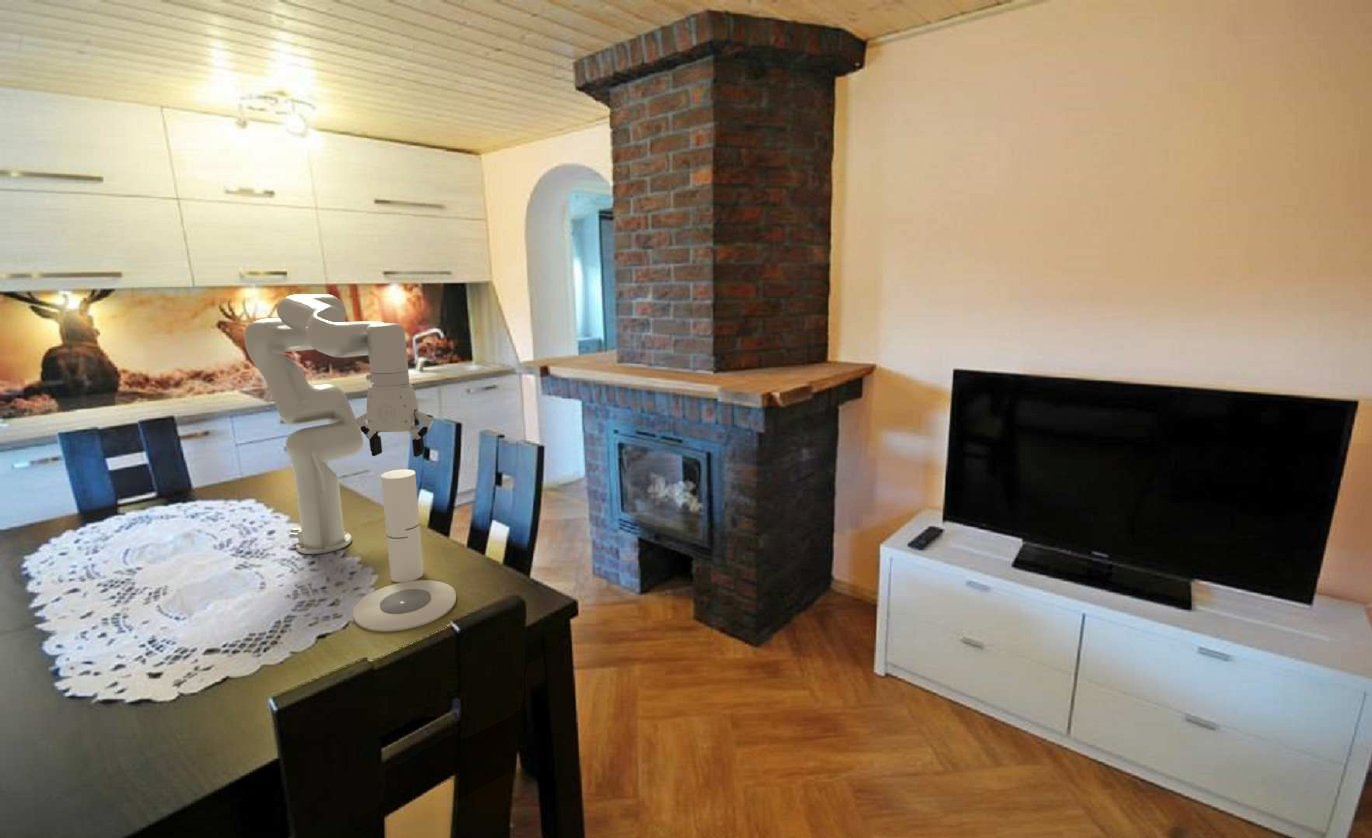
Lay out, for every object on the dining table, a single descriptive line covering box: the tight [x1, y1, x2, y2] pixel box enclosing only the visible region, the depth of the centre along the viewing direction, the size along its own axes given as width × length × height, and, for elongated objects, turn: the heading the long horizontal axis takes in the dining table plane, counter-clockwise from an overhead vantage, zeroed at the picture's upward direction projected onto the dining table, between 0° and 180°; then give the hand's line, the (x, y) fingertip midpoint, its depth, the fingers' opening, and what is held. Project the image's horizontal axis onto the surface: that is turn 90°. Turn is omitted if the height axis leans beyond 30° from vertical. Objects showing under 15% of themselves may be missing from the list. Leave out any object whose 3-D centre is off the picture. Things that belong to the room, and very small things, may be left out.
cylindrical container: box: [380, 468, 425, 583], centre depth 144 cm, size 7×7×25 cm
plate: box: [352, 579, 457, 633], centre depth 132 cm, size 20×20×1 cm
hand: (397, 454), depth 140 cm, fingers open, 9 cm apart
